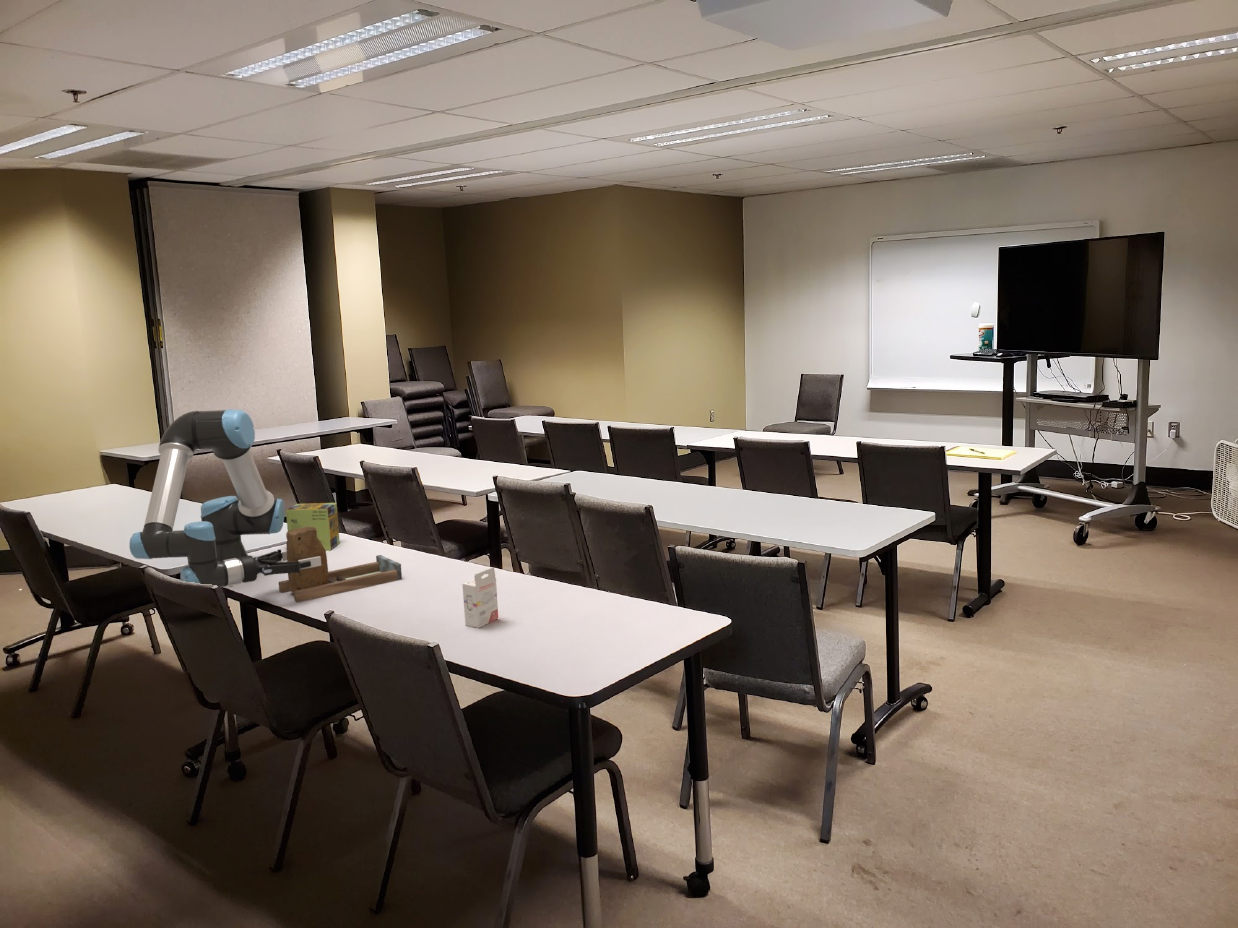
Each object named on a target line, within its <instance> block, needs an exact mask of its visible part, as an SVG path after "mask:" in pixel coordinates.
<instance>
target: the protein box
mask: <svg viewBox="0 0 1238 928" xmlns="http://www.w3.org/2000/svg"><path fill="white" fill-rule="evenodd" d="M285 515H286V517H285V518H286V526H287V529H286V530H287V532H288V531H290V530H293V529H296V528H303V527H307V526H309V527H315V528H316V530H317V537H318V539H319V540H320V541H321V543H322V545H323V547H324V548H325V550H326V552H327V551H329V552H330V551H332V550H333V549H335V548H336V547H337V546H338V545H340V544H341V541H340V533H339V532H340V531H339V519H338V506H337V502H318V503H317V502H314V503H296V504H294V505H292V506H291V507H288V508H287V509H286V510H285Z"/></svg>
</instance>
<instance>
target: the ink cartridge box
mask: <svg viewBox="0 0 1238 928" xmlns="http://www.w3.org/2000/svg"><path fill="white" fill-rule="evenodd" d="M485 575H487V576H485ZM473 577H474V578H473V579H471V580H469V581H466V582H464V583H462V596H463V610H464V623H465V625H464V626H465V627H466V626H467V627H473V628H478V629H479V628H482V627H484V626H486V625H488V624H490V623H492V622H495V621H496V620H495V619H497V618H498V619H499V610H498V609H499V606H498V589H497V588H498V587H497V578H496V571H495V567H491V568H488V569H484V570H483V571H481V572H478V573H476V574H474V576H473ZM498 619H497V620H498ZM491 621H492V622H491ZM485 624H486V625H485ZM481 626H482V627H481Z"/></svg>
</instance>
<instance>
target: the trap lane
mask: <svg viewBox="0 0 1238 928" xmlns="http://www.w3.org/2000/svg"><path fill="white" fill-rule="evenodd" d="M375 560H376V561H373V562H369V563H364V564H359V565H355V566H354V565H353V566H350V567H346V568H340V569H335V570H328V584H325V585H320V586H315V587H311V588H306V589H301V590H297V591H294V593H293V598H294V602H295V603H301V602H306V601H309V600H310V601H311V600H313V599H318V598H319V599H320V598H323V597H328V596H332V595H337V594H341V593H345V592H350V591H351V592H352V591H354V590H358V589H363V588H364V589H365V588H368V587H374V586H377V585H383V584H387V583H392V582H395V581H399V580H402V579H403V577H402V576H403V575H402V563H400V562H398V561H395V560H393V559H390V558H389V557H386V556H384V555H381V554H378V555H375ZM278 591H279V592H280V593H287V592H292V591H291V589H290V585H289V579H287V580H281V581H278Z"/></svg>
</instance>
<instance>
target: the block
mask: <svg viewBox="0 0 1238 928" xmlns="http://www.w3.org/2000/svg"><path fill="white" fill-rule="evenodd" d="M285 537H286V544H285V545H286V551H287V560H286V562H298V560H303V559H308V558H313V557H318V556H320V557H321V566H316V567H311V568H306V569H301V570H300V573H297V572H296V573H287V577H288V579H287V580H289V585H290V589H291V591H290V592H291V593H292V594H294V591H297V590H301V589H306V588H311V587H315V586H320V585H325V584H329V583H328V572H329V564H328V557H327V551H326V550H325V548H324V547H323V545H322V543H321V541H320V540H319V539H318V537H317V530H316V528H315V527H309V526H307V527H303V528H296V529H293V530H290V531H288V530H287V532H286V534H285Z"/></svg>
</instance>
